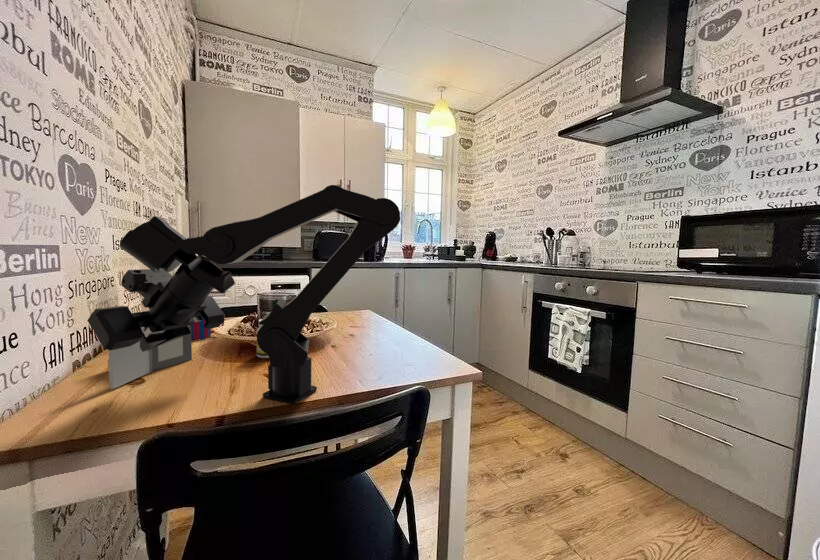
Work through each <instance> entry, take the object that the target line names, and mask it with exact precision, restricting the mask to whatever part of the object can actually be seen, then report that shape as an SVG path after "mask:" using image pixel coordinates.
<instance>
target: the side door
mask: <svg viewBox="0 0 820 560" xmlns="http://www.w3.org/2000/svg"><path fill="white" fill-rule="evenodd" d="M107 352H108V353H107V354H108V357H107V358H108V359H107V370H108V376H109V378H108V379H109V389H111V390H114V389H116V388H119V387H121V386H123V385H125V384H127V383H129V382H133V381H134V380H136V379H138V378H141V377H143V376H145V375H147V374H150V373H152V372H153V371H152V349H150V350H148V351H144V352H142V350H141V349H140V341H139V342H137V343H135V344H134V345H132V346H129V347H124V348H120V349H115V350H108V351H107Z"/></svg>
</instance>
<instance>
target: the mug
mask: <svg viewBox="0 0 820 560" xmlns="http://www.w3.org/2000/svg"><path fill="white" fill-rule="evenodd" d="M205 323H206V321H205V319H204V318H203V317H202V321H198V322H194V324H193V325H190V326H191V340H193V341H198V340H197V339H202V340H205V339H204V338H207V339H209V338H211V335H212V334H214V333H215V332H214V330H212V329H206V328H205V327H204V324H205ZM224 324H225V321H224V322H223V323H222V324H221V325H220V327H221V326H223V327H224ZM208 337H209V338H208Z"/></svg>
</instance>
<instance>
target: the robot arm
mask: <svg viewBox="0 0 820 560" xmlns="http://www.w3.org/2000/svg"><path fill="white" fill-rule="evenodd" d="M400 211H401V210H400V209H399V206H398V205H397V204H396V202H394V201H393V200H391V199H389V198H386V197H379V198H373V197H371V196H369V195H365V194H361V193H359V192H354V191H351V190H349V189H345V188H343V187H341V186H339V185H338V184H337V185H336V184H331V185H327V186H326V187H324V188H323V189H322V190H319V191H318V192H314V193H313V194H310V195H307V196H304V197H303V198H301V199H299V200H296V201H294V202H292V203H289V204H287V205H285V206H283V207H281V208H278V209H275V210H274V211H271V212H269V213H266V214H264V215H262V216H259V217H257V218H252V219H247V220H240V221H234V222H230V223H227V224H221V225H218V226H215V227H211V228H209V229H208V230H207V231H205V232H204V234H203V235H202V236H197V237H185V236H184V235H183V234H181V233H180V232H179V231H177V230H176V229H175V228H173V226H172V225H170V223H169V222H168V221H166V220H165V219H164V218H162V217H160V216H156V215H155V216H152V217H151V218H150V220H148V221H145V222H143V223H141V224H139V225H138V226H137V227H135V228H134V229H130V230H129V231H128V232H127V233H126V234H125V235H124V236H123V237H122V239H121V240H120V243H119V248H120V249H122V250H123V251H124V252H126V253H127V254H129V255H130V256H131V257H133V258H134V259H136V260H137V261H138V262H140V263H141V264H142V265H144V266H145V267H146V268H148V269H143V268H142V269H127V271H126V272H125V273H124V275H122V278H121V283H120V284H121V286H122V287H123V289H124V290H126V291H128V292H129V293H138V295H140V296H141V297H142V298H143V299H142V300H141V304H142V305H143V307H144V308H146V309H147V308H148V310H145V311H138V312H137V311H136V312H132V311H131V309H130V308H129V306H127V305H117V306H108V307H101V308H100V307H99V308H95V309H94V310H93V311H92V312H91V314H90V315H89V318H88V319H87V322H88V324H89V325H90V327H91V329H92V331H93V333H94V335H95V336H96V337H97V339H98V341H99V343H100V344H101V346H102V347H103V349H104V350H115V349H120V348H124V347H129V346H132V345H134V344H135V343H137V342H139V341H140V349H141V350H142V352H144V351H148V350H150V349H153V348H155V347H158V346H160V345H163V344H165V343H168V342H170V341H173V340H175V339H178V338H181V337H183V336H186V335H189V334H190V333H191V331H190V330H189V328H188V327H187V326H190V325H193V324H194V322H198V321H202V317H203V318H204V319H205V321H206V323H205V324H204V327H205V328H206V329H211V330H212V329H215V328H216V329H217V328H220V327H221V325H222V323H223V322H224V323H225V317H226V316H225V313H224V311H223V310H222V309H221V307H220V306H219V304H218V303H217V301H216V300H215V299H214V298H213V296H211V295H210V294H211V293H212V292H213V291H214V290H216V291H218V292H219V293H220V294H225V292H227V291H228V290H230V289H231V288H232V287H233V286H235V285H236V282H235V279H234V277H233V276H232V272H231V271H230V270H227V271H226V270H223V269H222V268H220V266H218V265H229V264H236V263H237V264H238V263H239V262H242V261H243V260H245V259H247V258H248V257H250V256H251V255H252V254H254V253H255V252H257V251H258V250H260V249H261V248H262V247H263V246H264V245H266V244H268V243H269V242H270V241H272V240H273V239H276V238H278V237H281V236H282V235H285V234H287V233H289V232H291V231H293V230H295V229H297V228H300V227H303V226H305V225H307V224H309V223H311V222H314V221H316V220H318V219H320V218H322V217H325V216H326V215H329V214H331V213H337V214H339V215H341V216H343V217H346V218H348V219H350V220H352V221H355V222H356V224H355V225H354V227H353V229H352V230H351V232H350V233H349V235H348V237H347V238H346V239H345V241H344V242H343V243H342V244H341V245H340V246H339V248H338V249H337V250H336V251H335V252H334V253H333V254H332V255H331V257H330V258H329V259H328V260H327V261H326V262H325V263H324V264H323V266H322V267H321V268H320V269H319V271H318V272H316V274H315V275H314V276H312V278H311V280H309V282H308V283H306V285H305V286H304V288H302V289H301V291H299V293H298V294H296V296H295V297H294V298H293V299H291V300H290V301H288V302H287V303H286V301H284V300H283V299H282V298H280V299H279V300H278V301H277V302H276V303H275V305H273V306H274V307H273V308H272V309H271V311H270V312H269V313H267V314H265V315H264V316H263V318H261V319H262V320H261V321H260V322H259V321H258V325H259V324H260V325H262V326H261V328H260V329H259V331H258V333H257V332H256V344H257V343H258V345H259V347H260V349H261V350H262V351H263V352H265V353H267V354H268V356H269V358H268V359H269V365H268V367H267V374H268V376H267V383H268V384H267V388H268V390H267V391H265V392H262V397H263V398H266V399H271V400H272V399H273V400H276V401H280V402H284V403H289V404H294V403H295V404H296V403H297V402H299V401H300V400H302V399H304V398H305V397H307V396H308V395H310V394H312V393H313V392H315V391H316V390H317V389H318V387H317V386H316V385H312V357H309V356H308V354H309V348H310V339H309V338H308V337H307V336H306V335H304V334H303V333H302V331H303V329H304V328H305V325H306V324H307V322H308V320H309V318H310V316H311V315H312V313H313V312H314V310H316V309H317V307H318V306H319V305H320V304H321V303H322V302H323V300H324V299H326V297H327V296H328V295H329V294H330V293H331V291H332V290H333V289H334V288H336V285H338V283H339V282H341V280H342V279H343V278H344V277H345V275H346V274H347V273H348V272H349V271H350V269H352V267H353V266H354V265H355V264H356V263H357V262H358V260H359V259H360V258H361V257H362V255H364V253H365V252H366V251H368V250H369V249H370V248H372V247H373V246H374V245H376V244H377V243H379V241H381V240H383V239H384V238H385V237H386V236H387V235H388V234H389V233H391V232H392V231H394V230H395V228H397V227H398V225H399V223H400V222H401V212H400ZM200 256H205V257H206V259H205V258H202V257H200ZM207 259H208V260H207ZM217 264H218V265H217ZM176 268H177V270H176V271H175V269H176ZM173 271H175V272H174V274H171V272H173Z"/></svg>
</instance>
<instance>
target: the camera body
mask: <svg viewBox="0 0 820 560" xmlns="http://www.w3.org/2000/svg"><path fill="white" fill-rule="evenodd" d="M187 327H188V328H189V330H190V331H191V326H187ZM192 346H193V345H192V341H191V333H190V334H189V335H186V336H183V337H181V338H178V339H175V340H173V341H170V342H168V343H165V344H163V345H160V346H158V347H155V348H153V349H152V372H156V371H159V370H162V369H165V368H169V367H171V366H176V365H178V364H182V363H186V362H189V361H192V360H193V358H192V356H193V355H192V352H193V351H192Z"/></svg>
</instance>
